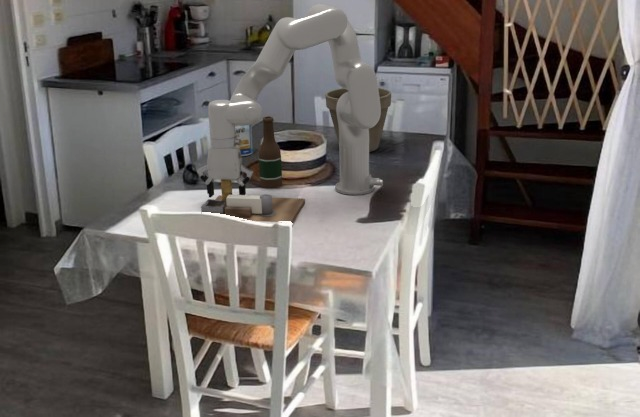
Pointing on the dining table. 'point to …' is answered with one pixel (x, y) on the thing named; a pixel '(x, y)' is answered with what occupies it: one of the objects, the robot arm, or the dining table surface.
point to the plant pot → (374, 132)
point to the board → (281, 212)
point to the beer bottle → (269, 157)
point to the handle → (252, 202)
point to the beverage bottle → (244, 139)
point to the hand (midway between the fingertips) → (226, 196)
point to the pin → (226, 188)
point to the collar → (214, 206)
